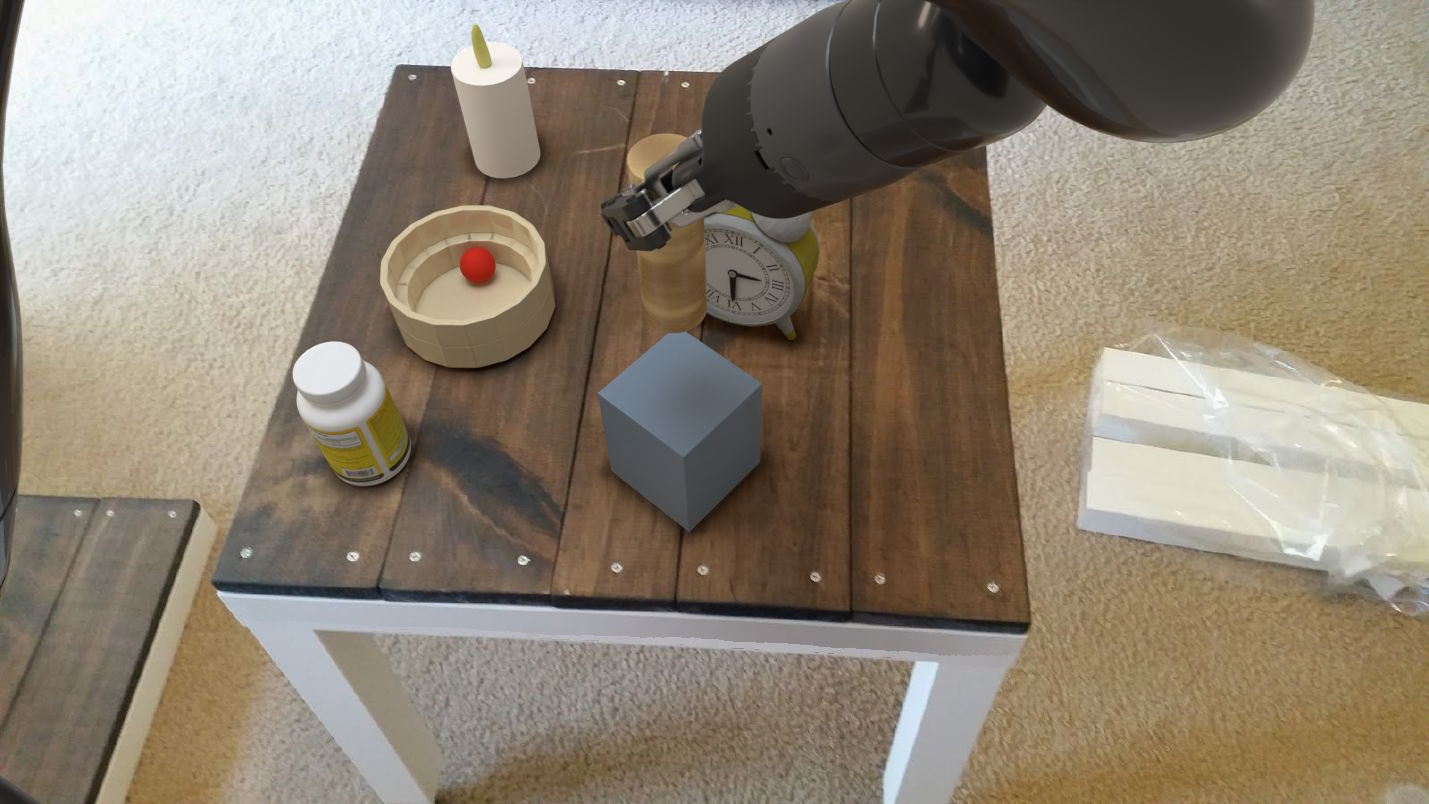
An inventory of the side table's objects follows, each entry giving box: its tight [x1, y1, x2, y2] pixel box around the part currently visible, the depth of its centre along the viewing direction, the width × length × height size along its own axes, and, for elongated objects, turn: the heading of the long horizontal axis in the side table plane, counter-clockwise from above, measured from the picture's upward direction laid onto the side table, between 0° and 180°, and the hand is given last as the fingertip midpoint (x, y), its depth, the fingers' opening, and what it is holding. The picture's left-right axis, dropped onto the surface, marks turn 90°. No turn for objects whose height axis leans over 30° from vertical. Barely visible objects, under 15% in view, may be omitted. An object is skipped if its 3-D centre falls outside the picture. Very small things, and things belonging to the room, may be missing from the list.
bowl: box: [379, 204, 556, 369], centre depth 87 cm, size 13×13×6 cm
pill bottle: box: [292, 341, 412, 487], centre depth 76 cm, size 6×6×11 cm
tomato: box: [460, 247, 496, 283], centre depth 90 cm, size 3×3×3 cm
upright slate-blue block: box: [597, 331, 763, 533], centre depth 76 cm, size 8×8×10 cm
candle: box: [450, 23, 541, 179], centre depth 95 cm, size 6×6×15 cm
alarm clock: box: [705, 206, 821, 341], centre depth 83 cm, size 12×7×15 cm, turn 70°
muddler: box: [626, 133, 707, 334], centre depth 60 cm, size 4×4×12 cm
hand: (643, 197), depth 59 cm, fingers closed on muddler, 4 cm apart
